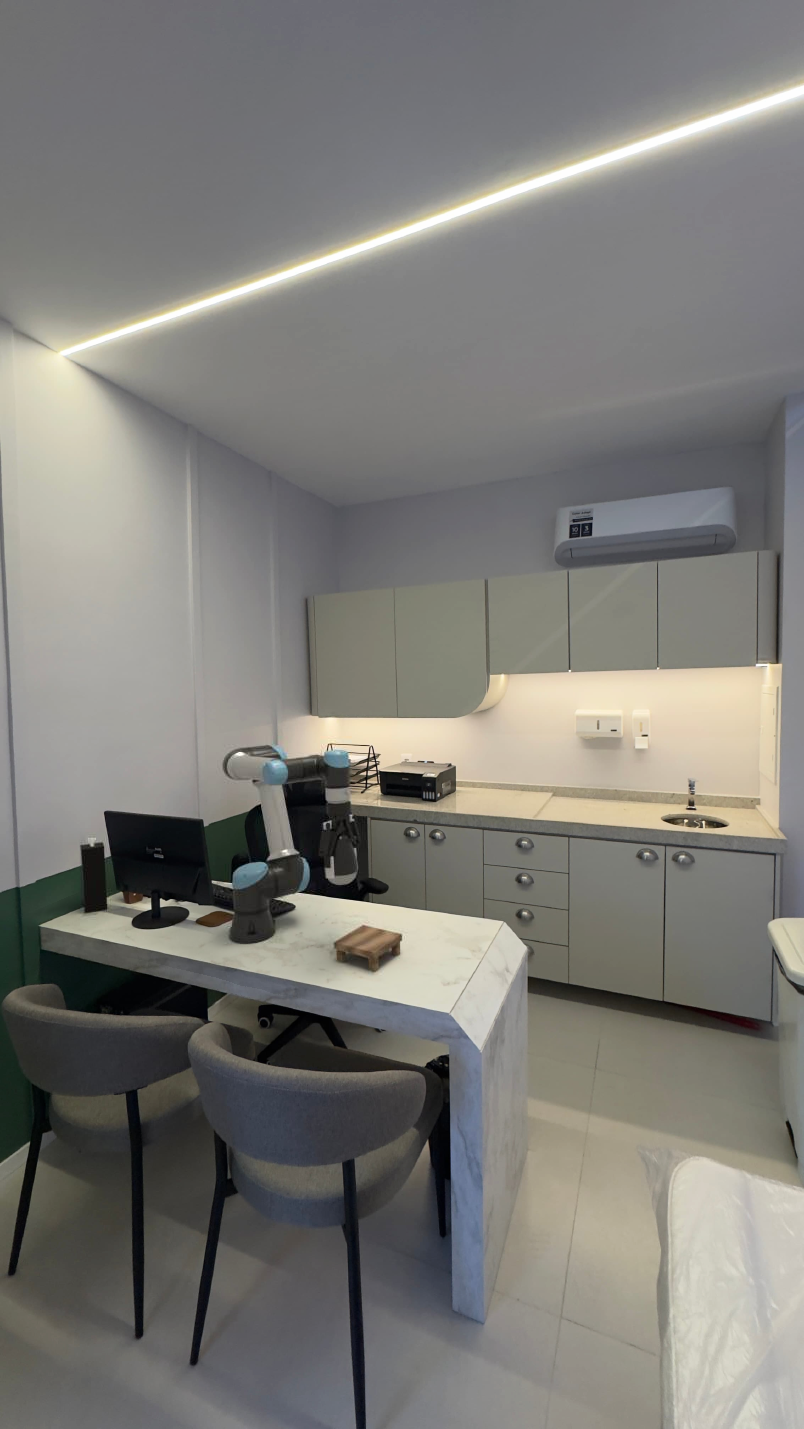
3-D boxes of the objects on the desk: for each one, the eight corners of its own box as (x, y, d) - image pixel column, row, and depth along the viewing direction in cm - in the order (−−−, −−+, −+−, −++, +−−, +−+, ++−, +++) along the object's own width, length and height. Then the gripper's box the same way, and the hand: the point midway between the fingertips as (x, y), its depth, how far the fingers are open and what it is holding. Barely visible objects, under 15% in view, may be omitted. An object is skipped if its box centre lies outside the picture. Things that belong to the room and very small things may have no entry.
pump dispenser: (353, 888, 179) (350, 837, 179) (320, 887, 182) (317, 836, 181) (363, 877, 189) (361, 829, 188) (331, 876, 191) (329, 829, 191)
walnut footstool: (334, 961, 184) (333, 942, 184) (363, 943, 197) (362, 924, 197) (375, 973, 176) (374, 952, 176) (402, 952, 189) (402, 934, 189)
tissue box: (107, 909, 234) (103, 837, 232) (84, 913, 230) (80, 841, 228) (106, 903, 241) (102, 833, 239) (83, 907, 237) (79, 836, 235)
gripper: (322, 808, 173) (326, 885, 174) (370, 795, 192) (373, 865, 192) (303, 806, 177) (307, 881, 178) (352, 794, 196) (355, 862, 197)
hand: (341, 873), depth 185 cm, fingers closed on pump dispenser, 10 cm apart
